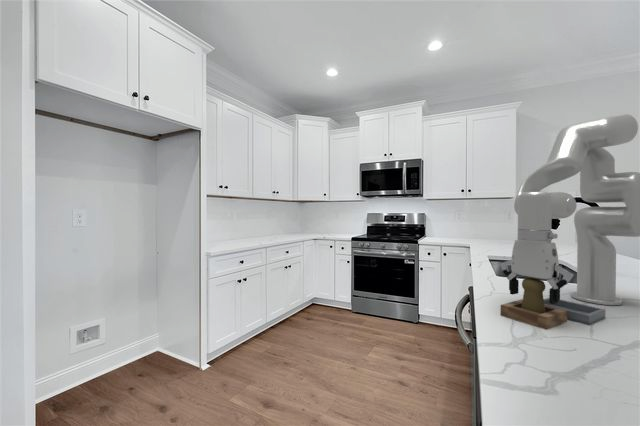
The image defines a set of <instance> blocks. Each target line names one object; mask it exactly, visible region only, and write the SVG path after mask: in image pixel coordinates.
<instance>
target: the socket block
mask: <svg viewBox="0 0 640 426" xmlns="http://www.w3.org/2000/svg"><path fill="white" fill-rule="evenodd" d="M522 301H523V299H518V300H514V301H509V302H506V303H502V304H500V316H501V317H505V318H508V319H511V320H514V321H518V322H522V323H525V324H528V325H531V326H533V327H537V328H540V329H543V328H544V330H549V329H551V328H554V327H557V326H559V325H562V324H565V323H567V322H568V320H567V310H563V309H559V308H555V307H551V306H546V305H544V306H545V312H546V313H543V314H541V313H537V312H533V311H529V310H526V309H522V308H521V307H522Z"/></svg>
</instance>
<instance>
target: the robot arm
mask: <svg viewBox="0 0 640 426" xmlns="http://www.w3.org/2000/svg"><path fill="white" fill-rule="evenodd" d="M638 130H639V123H638V121H637V120H636V118H635V117H634V116H633V115H631V114H620V115H615V116H614V115H613V116H607V117H600V118H596V119H591V120H587V121H581V122H577V123H573V124H570V125H567V126H565V127H563V128H562V129H561V130H560V131H559V132H558V134H557V136H556V139H555V141H554V143H553V146H552V148H551V151H550V154H549V156H548V159H547V162H546V163H544V164H542V165H541V166H540V167H538V168H537V169H536V170H535V171H533V172H531V174H530V175H528V176H527V177H526V178H525V179H524V180H523V182H522V183H521V185H520V187H519V189H518V191H517V193H516V196H515V200H514V205H513V206H514V207H513V208H514V211H515V213H516V214H517V237H516V238H517V239H516V240H514V242H513V243H514V244H513V246H512V251H511V252H512V253H511V259H508V260H506V261H504V262H500V264H499V266H500V268H501V270H502V273H503V275H505V276H506V277H507V278H506V279H507V280H508V290H509V294H510V295H517V294H518V293H519V279H517V278H519V277H520V276H521V277H524V278H525V277H526V278H534V279H539V280H542V281H547V283H548V284H549V285H550V287H551V288H549V295H548V298H549V303H550V304H555V303H558V301H560V300H561V289H562V288H564V287H565V286H566V285H567V284H569V283H570V281H571V280H572V278H573V277H574V273H572V272H570V271H569V270H567V269H565V267H562V266H560V264H559V256H558V248H557V245H556V242H553V240H554V239H558V234H557V233H554V232H553V230H552V224H553V223H552V219H553V220H555V219H556V220H558V219H559V220H560V219H567V218H569V217H570V216H572V215H574V216H573V224H574V228H575V232H576V239H577V240H576V241H577V242H576V243H577V248H576V249H577V254H576V255H577V257H576V258H577V260H576V262H577V263H576V264H577V265H576V291H572V292H570V296H571V298H573V299H576V300H578V301H582V302H586V303H590V304H591V303H592V304H595V305H604V306H605V305H606V306H621V305H623V300H622V299H621V298H618V297H616V296H617V294H616V293H617V291H616V290H617V289H616V288H617V287H616V285H617V249H616V247H615V245H614V243H613V242H611V241H610V239H609V238H608V237H611V236H612V237H628V238H629V237H630V238H638V237H640V171H639V172H638V171H625V172H616V165H615V161H616V159H615V157H614V155H613V154H611V153H610V151H608V150H607V149H605V148H609V147H612V146H619V145H623V144H628V143H629V142H632V141H633V140H634V139H635V138H636V136H637V134H638ZM577 174H579V192H580V198H581V199H582V200H583V201H584V202H587V203H594V204H596V203H597V204H598V203H599V204H601V203H604V204H605V203H623V204H625V206H589V207H587V206H586V207H583V208H580V209H579V210H577V201H576V198H574V196H573V195H572V194H569V193H568V192H564V191H557V192H556V191H554V192H552V191H551V192H547V191H542V190H544V189H545V188H547V187H550V186H551V185H554V184H557V183H559V182H561V181H563V180H564V181H565V180H566V179H569V178H571V177H574V176H576V175H577ZM576 210H577V211H576ZM607 236H608V237H607ZM509 266H510V269H509ZM560 274H561V275H562V279H561V280H558V278H559V276H560Z"/></svg>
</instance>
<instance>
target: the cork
mask: <svg viewBox="0 0 640 426" xmlns="http://www.w3.org/2000/svg"><path fill="white" fill-rule="evenodd" d="M521 287H522V288H523V290H524V291H523V296H522V300H523V301H522V307H521V308H522V309H526V310H529V311H533V312H537V313H541V314H543V313H546V312H545V306H544V299H545V298H544V294H543V293H544V291H545V289H546V283H545V281H544V280H542V279H536V278H530V277H526V278H524V279H523V280H522V281H521Z"/></svg>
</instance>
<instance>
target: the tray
mask: <svg viewBox="0 0 640 426" xmlns="http://www.w3.org/2000/svg"><path fill="white" fill-rule="evenodd" d="M543 299H544V305H546V306H551V307H555V308H559V309H563V310H567V321H571V322H576V323H580V324H582V325H587V326H591V325H593V324H596V323H598V322H600V321H603V320H605V319H606V309H605V308H604V309H603V308H601V307H595V306H591V305H587V304H581V303H577V302H574V301H569V300H563V299H560V301H558V303H555V304H550V303H549V297H547V298H543Z"/></svg>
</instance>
